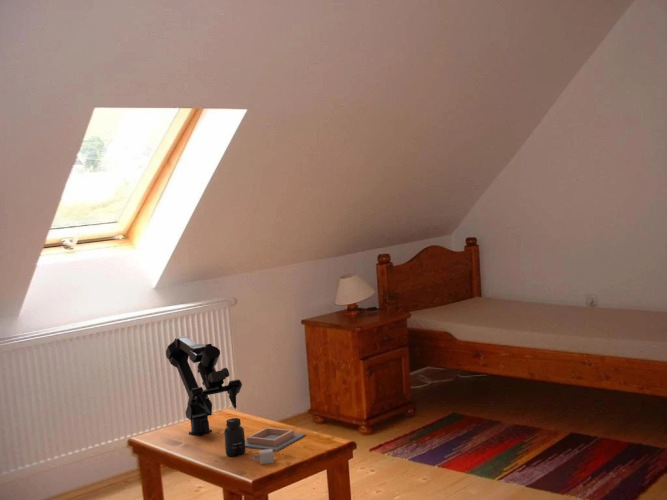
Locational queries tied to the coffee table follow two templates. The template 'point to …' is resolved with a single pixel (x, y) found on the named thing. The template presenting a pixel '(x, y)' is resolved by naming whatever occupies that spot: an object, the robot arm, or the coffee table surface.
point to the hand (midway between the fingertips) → (223, 410)
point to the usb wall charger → (265, 456)
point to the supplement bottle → (234, 438)
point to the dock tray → (272, 439)
